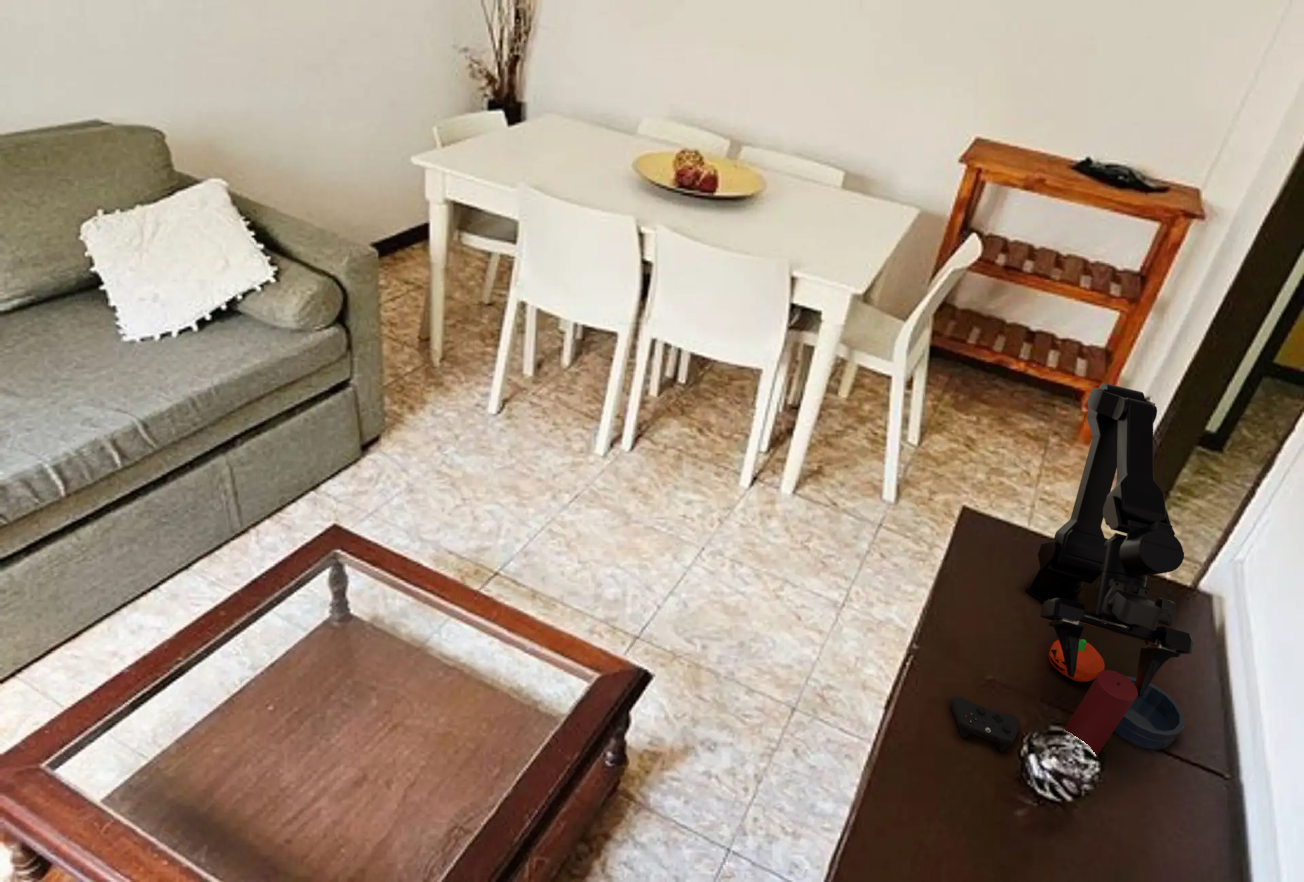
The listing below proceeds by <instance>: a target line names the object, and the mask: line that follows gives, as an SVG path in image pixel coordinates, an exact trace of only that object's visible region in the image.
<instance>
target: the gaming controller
mask: <svg viewBox="0 0 1304 882" xmlns="http://www.w3.org/2000/svg"><path fill="white" fill-rule="evenodd" d="M950 707H951V711H952V713H953V715H954V718H955V721H956V724H957V729H958V731H959V734H960V736H961V737H962V738H963V739H965V738H966V737H968V735H970V734H972V735H973V736H977V737H980V738H983V739H986V740H988V741H991V742H993V743H996V747H997V748H998V751H999V752H1004V751H1006V749H1007V748H1008V747H1009V746H1010V745H1012V744H1013V742H1014V741H1015V740H1016V737H1017V736H1018V733H1019V731H1020V727H1021V723H1020V720H1019V718H1018V717H1017V716H1015V715H1014V714H1011V713H1001V712H999V711H996V710H992V709H990V708H987V707H984V706H981V705H978V704H976V703H974V702H972V701H971V700H969V699H967V698H965V697H962V696H960V695H959V696H958V695H957V696H954V697H952V699H951V700H950Z"/></svg>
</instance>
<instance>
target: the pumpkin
mask: <svg viewBox="0 0 1304 882" xmlns="http://www.w3.org/2000/svg"><path fill="white" fill-rule="evenodd" d="M1048 660H1049V663H1050V664H1051V665H1052V666H1053V668H1054V669H1055V670H1057V672H1059V673H1060V674H1061V675H1063V676H1065V677H1067V678H1068V679H1070V680H1072V681H1074V682H1078V683H1087V682H1090V681H1094V680H1095V679H1096V677H1097V675H1098V674H1099V673H1100V672H1101V671H1104V670H1105V660H1104V658H1103V657H1102V656H1101V654H1100V653H1099V652H1098V651H1097V649H1096V648H1095V647H1094V646H1093V645H1092V644H1091V643H1089V642H1087V640H1086V639H1085V638H1084V639H1083V638H1082V639H1081V638H1080V639H1079V647H1078V656H1077V665H1076V670H1075V674H1074V677H1069V676H1068V673H1067V669H1066V665H1065V660H1064V656H1063V651H1062V648H1061V645H1060V642H1059V639H1058V638H1057V639H1056V640H1055V641H1054V642H1053V643H1052V645H1051V646H1050V649H1049V652H1048Z"/></svg>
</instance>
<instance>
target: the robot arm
mask: <svg viewBox="0 0 1304 882" xmlns="http://www.w3.org/2000/svg"><path fill="white" fill-rule="evenodd" d="M1087 408H1088V411H1087V415H1086V421H1087V423H1088V427H1089V429H1090V433H1091V435H1092V437H1091V441H1090V446H1089V449H1088V453H1087V457H1086V461H1085V464H1084V467H1083V470H1082V475H1081V479H1080V482H1079V486H1078V490H1077V493H1076V497H1075V501H1074V505H1073V508H1072V512H1071V515H1070V518H1069V520H1068V521H1066V523H1064V524H1063V525H1062V526H1061V527H1059V529H1057V530H1056V531H1055V533H1054V536H1053V540H1050V541H1047V542H1043V543H1041V545H1040V547H1039V550H1038V553H1037V557H1038V562H1039V563H1038V564H1039V569H1038V571H1037V573H1036V575H1035V577H1034V579H1033V581H1032V583H1031V584H1030V585H1028V586H1027V587H1026V588H1025V592H1026V593H1027V594H1029V595H1030V596H1031V597H1033V598H1034V599H1036V600H1037V601H1039V602H1040V603H1042V606H1041V610H1040V618H1042V619H1045V620H1049V621H1048V626H1049V627H1052V628H1053V629H1054V631H1055V635H1056V636H1057V640H1058V639H1059V642H1060V645H1061V648H1062V651H1063V656H1064V660H1065V665H1066V669H1067V673H1068V676H1069V677H1074V674H1075V670H1076V665H1077V656H1078V647H1079V639H1081V636H1082V634H1083V631H1084V629H1085V626H1084V625H1088V626H1091V627H1094V628H1098V629H1102V630H1106V631H1109V632H1112V633H1117V634H1119V635H1124V636H1126V637H1131V638H1134V639H1137V640H1142V641H1144V643H1145V644H1146V647H1141V648H1140V652H1139V659H1138V665H1137V672H1136V677H1135V678H1136V688H1137V691H1138V695H1137V696H1140V697H1141V696H1142V695H1143V693H1144V692H1145V690H1146V688H1147V687H1148V685H1149V684H1150V683H1152V680H1153V679H1154V677H1155V676H1156V674H1157V673H1158V671H1159V670H1160V669H1161V667H1163V665H1164V664H1165V663H1166V662H1167V661H1168V660H1170V659H1171V658H1180V657H1181V655H1192V653H1193V649H1194V648H1193V647H1194V641H1193V638H1192V636H1191V634H1190V632H1187V631H1182V630H1178V629H1175V628H1172V627H1170V626H1172V624H1173V623H1174V620H1175V618H1176V611H1177V603H1175V602H1174V600H1173V601H1172V600H1169V599H1165V598H1162V597H1158V598H1157V599H1156V600H1155V601H1153V600H1150V588H1149V587H1146V585H1147V581H1148V577H1149V576H1155V575H1160V574H1161V575H1162V574H1167V573H1173V571H1176V570H1177V569H1178V568H1179V567H1181V565H1182V564H1183V562H1184V559H1185V551H1184V548H1183V546H1182V543H1181V541H1180V540H1179V538H1177V537H1176V536H1175V535H1176V533H1175V530H1174V529H1173V525H1172V524H1171V521H1170V516H1169V514H1168V513H1169V512H1168V510H1167V506H1166V499H1165V493H1164V491H1163V490H1162V489H1161V488H1160V486H1159V485H1158V484H1157V482H1156V481H1155V475H1154V469H1155V468H1154V467H1155V465H1154V463H1155V462H1154V459H1155V458H1154V423H1155V421H1156V419H1157V415H1158V407H1157V406H1156V403H1154V402H1152V401H1150V400H1148V399H1147V398H1145V393H1144V391H1139V390H1135V389H1132V388H1127V387H1122V386H1119V385H1114V384H1110V383H1106V382H1103V383H1101V385H1100V386H1099V387H1094V388H1093V389H1092V390H1091V391H1090V393H1089V396H1088V399H1087ZM1115 476H1116V483H1115V486H1114V487H1113V483H1114V481H1115ZM1112 487H1113V489H1112ZM1103 520H1104V522H1105V525H1107V526H1108V527H1109V529H1110V530H1112V531H1115V533H1113V535H1112V536H1111V537H1110V538H1106V537H1105V534H1104V532H1103V529H1102V525H1103ZM1118 532H1120V533H1118ZM1121 533H1123V534H1121ZM1099 577H1100V580H1099V581H1096V580H1097V579H1098V578H1099ZM1095 581H1096V583H1095V584H1096V585H1095V589H1096V590H1097V596H1096V602H1095V608H1092V609H1091V611H1087V610H1086V607H1085V604H1084V603H1080V602H1077V599H1078V597H1079V595H1080V593H1081V592H1082V590H1083V588H1084V585H1083V584H1082V583H1083V582H1084V583H1087V584H1089V585H1092V584H1093V583H1094V582H1095ZM1080 624H1084V625H1080ZM1158 624H1160V625H1164V626H1158ZM1167 626H1168V627H1167Z"/></svg>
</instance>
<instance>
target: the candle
mask: <svg viewBox="0 0 1304 882" xmlns="http://www.w3.org/2000/svg"><path fill="white" fill-rule="evenodd" d="M1126 676H1127V675H1126ZM1126 676H1125V675H1124V674H1122V673H1120V672H1118V671H1115V670H1112V669H1111V670H1109V669H1104V671H1101V672H1100V673H1099V674H1098V675H1097V677H1096V679H1094V680H1093V682H1092V683H1091V685H1090V686H1089V688H1088V689H1087V692H1085V695H1084V696H1083V698H1082V699H1081V701H1080V703H1079V704H1078V706H1077V707H1076V709H1075V710H1074V712H1073V714H1072V715H1071V717H1070V719H1069V721H1068V722H1067V724H1066V725H1065V727H1064V728H1063V730H1064V729H1065V730H1066V731H1068V732H1070V733H1072V734H1073V735H1074V736H1076V737H1078V738H1079V739H1081V740H1082V741H1084V742H1085V743H1086V744H1088V745H1089V746H1090V747H1091V749H1092V750H1093V752H1095V754H1096V755H1097V756H1098V755H1099V754H1100V753H1101V752H1102V750H1103V748H1104V747H1105V745H1106V743H1107V742H1108V741H1109V739H1110V738H1111V736H1112V735H1113V733H1115V732H1114V730H1115V729H1116V727H1117V726H1118V724H1119V723H1120V721H1121V720H1122V718H1123V717H1124V715H1125V714H1126V712H1127V711H1128V709H1129V708H1130V706H1131V705H1132V703H1133V702H1134V700H1135V699H1136V697H1137V695H1138V691H1137V688H1136V686H1135V685H1134V684H1133V682H1132V681H1131V680H1129V679H1128V678H1127V677H1128V676H1127V677H1126Z"/></svg>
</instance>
